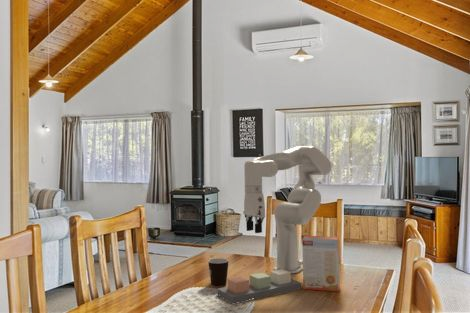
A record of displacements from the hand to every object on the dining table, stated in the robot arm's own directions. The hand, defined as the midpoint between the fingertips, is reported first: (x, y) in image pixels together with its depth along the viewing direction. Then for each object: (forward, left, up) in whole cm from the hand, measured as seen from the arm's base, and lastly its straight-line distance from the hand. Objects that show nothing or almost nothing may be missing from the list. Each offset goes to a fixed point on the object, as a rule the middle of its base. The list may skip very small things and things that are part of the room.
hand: (254, 231), depth 187 cm
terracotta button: (+16, +13, -20) cm, 29 cm away
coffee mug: (+14, -6, -22) cm, 27 cm away
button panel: (+6, +13, -22) cm, 26 cm away
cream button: (-4, +13, -20) cm, 24 cm away
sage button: (+6, +13, -20) cm, 25 cm away
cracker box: (-17, +23, -22) cm, 36 cm away
